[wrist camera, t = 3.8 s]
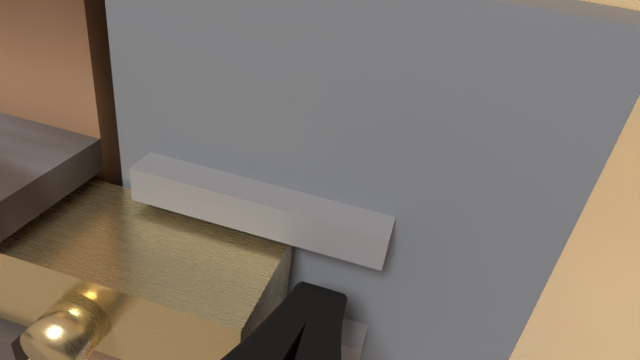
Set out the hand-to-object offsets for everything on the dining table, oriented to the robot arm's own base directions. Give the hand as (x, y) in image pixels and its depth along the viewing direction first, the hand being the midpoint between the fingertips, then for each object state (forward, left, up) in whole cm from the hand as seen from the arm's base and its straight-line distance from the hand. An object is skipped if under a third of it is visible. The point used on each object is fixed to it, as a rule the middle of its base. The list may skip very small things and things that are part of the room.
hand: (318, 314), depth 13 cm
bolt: (0, +5, -1) cm, 5 cm away
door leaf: (0, +1, -4) cm, 4 cm away
